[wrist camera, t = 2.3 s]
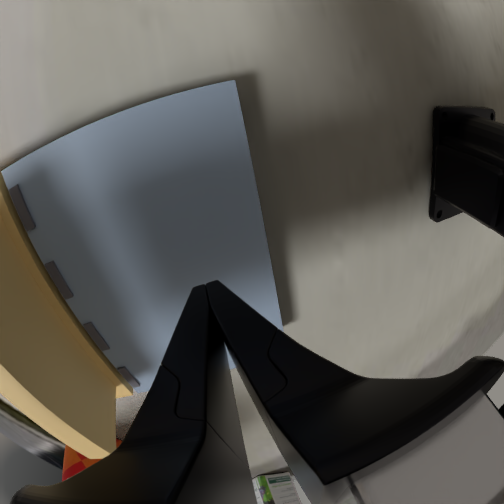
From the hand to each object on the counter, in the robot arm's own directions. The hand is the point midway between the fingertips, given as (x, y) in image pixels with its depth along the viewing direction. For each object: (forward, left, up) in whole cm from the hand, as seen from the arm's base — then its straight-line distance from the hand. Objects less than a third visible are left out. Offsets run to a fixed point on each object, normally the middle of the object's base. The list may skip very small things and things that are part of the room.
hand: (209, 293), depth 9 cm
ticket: (+2, 0, -3) cm, 3 cm away
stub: (+9, 0, -3) cm, 9 cm away
